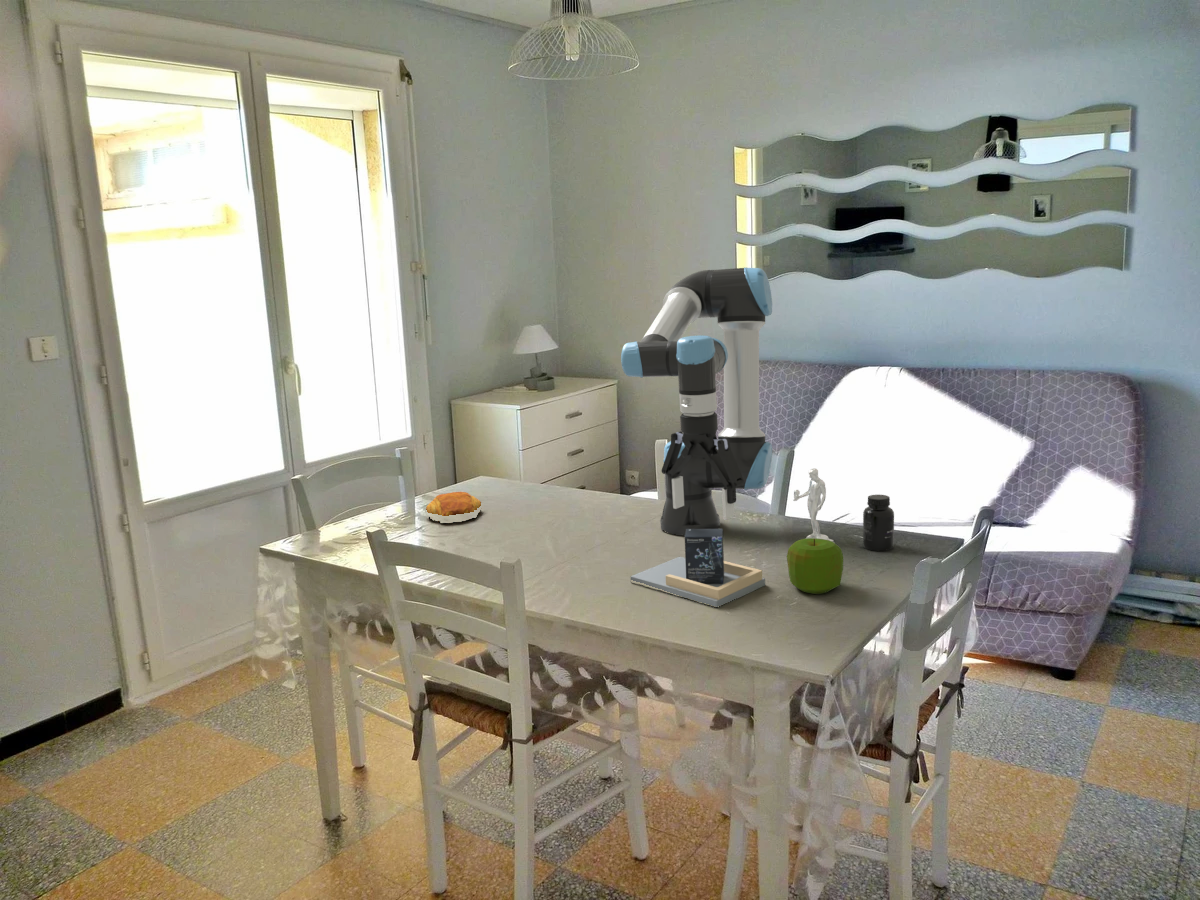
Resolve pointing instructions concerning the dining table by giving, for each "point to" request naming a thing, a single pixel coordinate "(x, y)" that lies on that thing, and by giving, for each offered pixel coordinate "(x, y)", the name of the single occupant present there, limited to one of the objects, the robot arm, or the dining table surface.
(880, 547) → the supplement bottle
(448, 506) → the croissant
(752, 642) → the dining table surface
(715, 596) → the dock
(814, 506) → the figurine
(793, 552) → the apple
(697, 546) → the box
